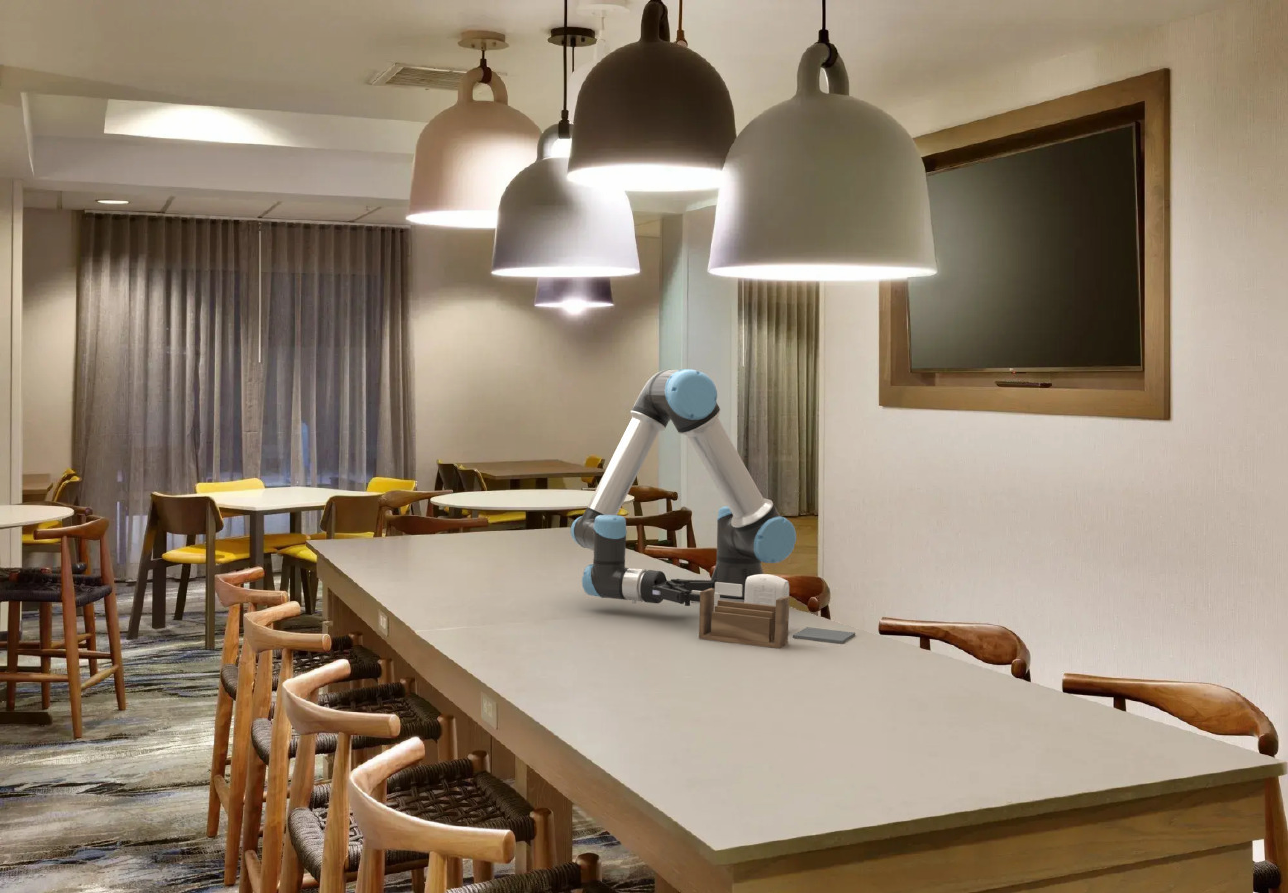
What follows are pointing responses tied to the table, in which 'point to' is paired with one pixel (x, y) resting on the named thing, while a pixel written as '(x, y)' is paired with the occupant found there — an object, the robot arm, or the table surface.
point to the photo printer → (765, 589)
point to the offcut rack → (744, 621)
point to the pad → (824, 635)
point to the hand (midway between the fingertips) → (730, 595)
